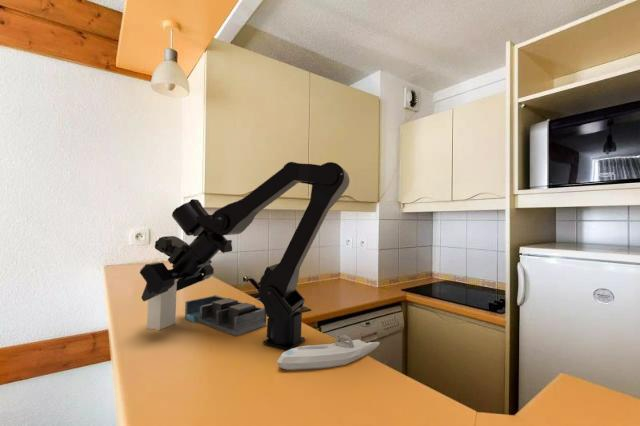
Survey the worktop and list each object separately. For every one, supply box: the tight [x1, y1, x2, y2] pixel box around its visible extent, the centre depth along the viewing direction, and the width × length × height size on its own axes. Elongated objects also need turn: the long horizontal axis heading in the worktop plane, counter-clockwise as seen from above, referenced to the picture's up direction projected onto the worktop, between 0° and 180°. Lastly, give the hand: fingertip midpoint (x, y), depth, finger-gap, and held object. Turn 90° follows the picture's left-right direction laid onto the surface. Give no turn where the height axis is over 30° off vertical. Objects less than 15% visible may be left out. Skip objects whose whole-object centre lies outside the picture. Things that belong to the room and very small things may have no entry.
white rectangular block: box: [146, 279, 178, 331], centre depth 74 cm, size 4×5×11 cm
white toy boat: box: [276, 334, 380, 371], centre depth 59 cm, size 23×7×4 cm, turn 121°
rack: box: [184, 294, 267, 337], centre depth 78 cm, size 20×10×5 cm, turn 54°
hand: (158, 294), depth 74 cm, fingers open, 9 cm apart
